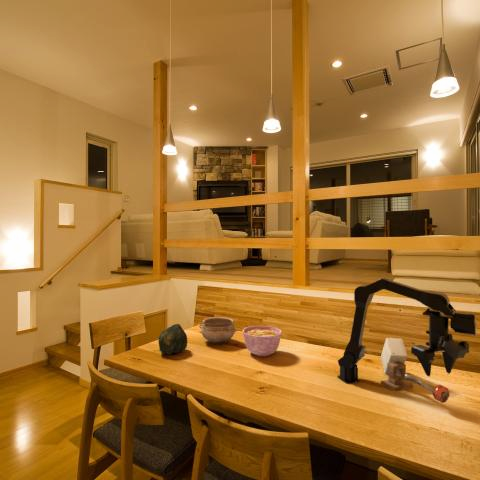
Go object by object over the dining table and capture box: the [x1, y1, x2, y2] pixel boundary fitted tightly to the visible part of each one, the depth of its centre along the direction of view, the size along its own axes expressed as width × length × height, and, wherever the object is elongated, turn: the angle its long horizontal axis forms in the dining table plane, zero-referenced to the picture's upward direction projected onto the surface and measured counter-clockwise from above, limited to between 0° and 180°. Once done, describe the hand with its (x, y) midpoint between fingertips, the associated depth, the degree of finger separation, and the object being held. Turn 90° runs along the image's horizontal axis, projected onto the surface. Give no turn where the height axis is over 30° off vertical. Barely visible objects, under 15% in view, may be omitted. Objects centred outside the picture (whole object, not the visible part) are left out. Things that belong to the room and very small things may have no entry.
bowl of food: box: [242, 325, 282, 357], centre depth 154 cm, size 20×20×12 cm
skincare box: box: [380, 337, 408, 375], centre depth 128 cm, size 8×7×16 cm
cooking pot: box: [198, 316, 239, 345], centre depth 172 cm, size 25×19×12 cm
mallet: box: [404, 373, 450, 403], centre depth 109 cm, size 5×16×5 cm, turn 18°
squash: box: [157, 323, 188, 355], centre depth 156 cm, size 14×15×15 cm
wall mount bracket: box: [380, 361, 414, 391], centre depth 120 cm, size 10×6×8 cm, turn 108°
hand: (438, 374), depth 105 cm, fingers open, 9 cm apart
